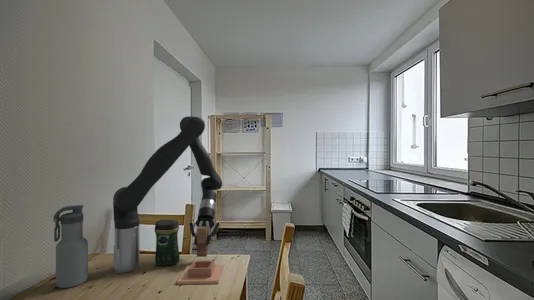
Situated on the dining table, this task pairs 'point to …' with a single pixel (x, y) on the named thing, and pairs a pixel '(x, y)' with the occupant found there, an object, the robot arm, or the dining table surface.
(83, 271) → the water bottle
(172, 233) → the coffee jar
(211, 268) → the terracotta holder
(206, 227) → the walnut post
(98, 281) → the dining table surface
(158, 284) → the dining table surface
